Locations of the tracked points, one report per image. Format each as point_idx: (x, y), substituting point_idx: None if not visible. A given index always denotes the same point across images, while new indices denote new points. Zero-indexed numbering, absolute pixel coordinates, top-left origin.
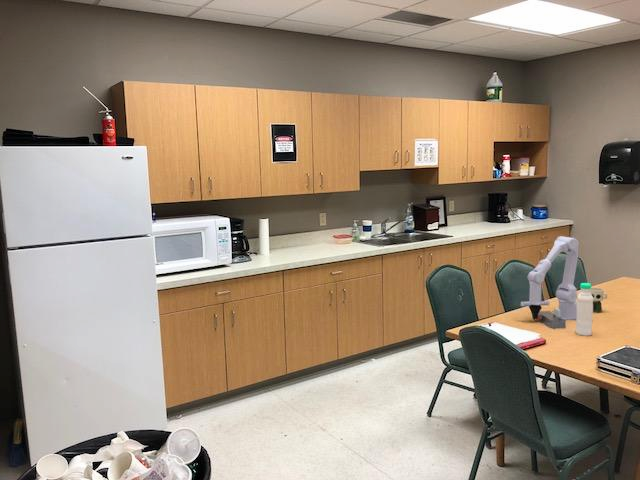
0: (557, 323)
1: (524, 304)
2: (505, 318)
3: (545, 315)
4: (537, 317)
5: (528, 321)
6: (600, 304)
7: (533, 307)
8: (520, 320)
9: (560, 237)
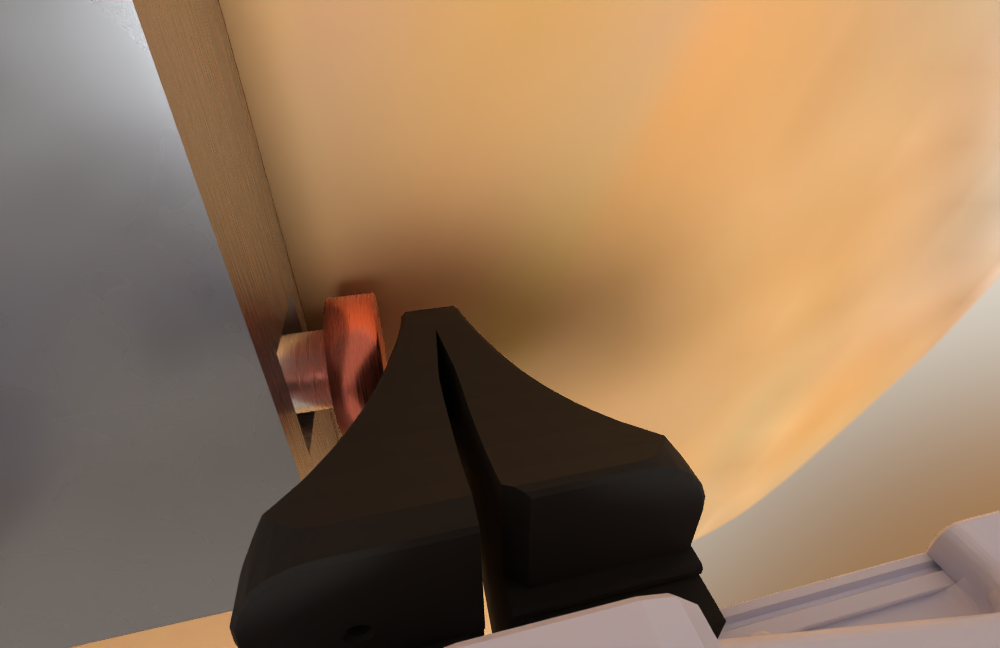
0: None
1: (948, 616)
2: (766, 424)
3: (151, 303)
4: (379, 351)
5: (537, 309)
6: None
7: (650, 499)
8: (635, 355)
9: None
